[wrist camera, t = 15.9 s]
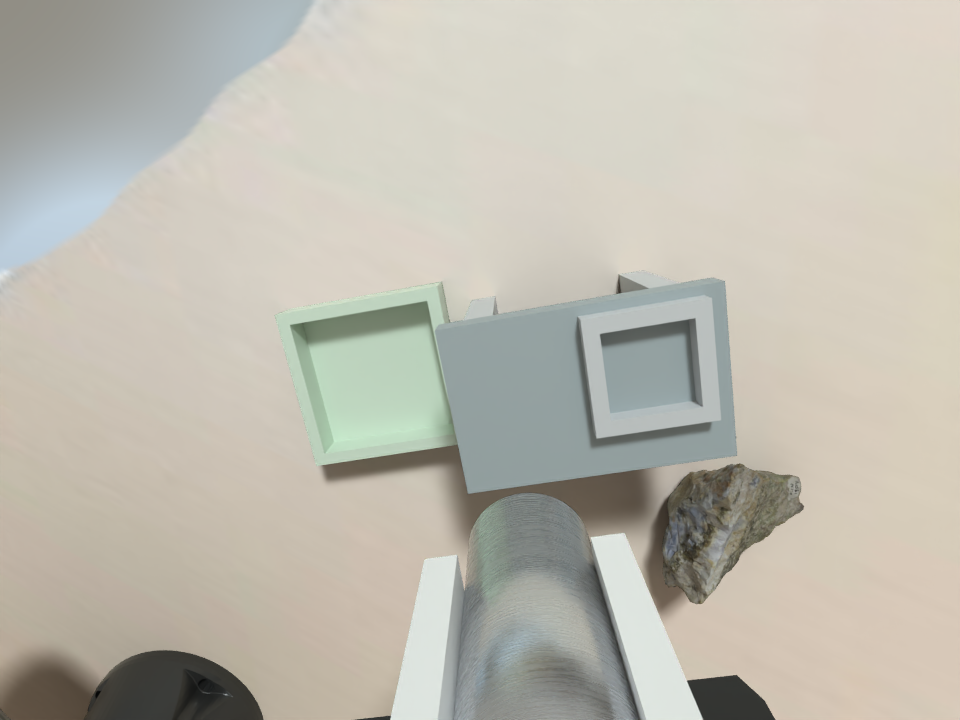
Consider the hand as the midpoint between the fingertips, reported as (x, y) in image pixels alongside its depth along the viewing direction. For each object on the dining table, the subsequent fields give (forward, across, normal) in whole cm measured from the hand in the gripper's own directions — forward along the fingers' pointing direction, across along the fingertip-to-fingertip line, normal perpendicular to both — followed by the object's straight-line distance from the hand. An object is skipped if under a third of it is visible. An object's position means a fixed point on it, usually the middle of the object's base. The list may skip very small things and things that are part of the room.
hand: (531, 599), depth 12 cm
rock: (+20, +8, -11) cm, 24 cm away
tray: (+26, -9, 0) cm, 27 cm away
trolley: (+26, +4, 0) cm, 26 cm away
